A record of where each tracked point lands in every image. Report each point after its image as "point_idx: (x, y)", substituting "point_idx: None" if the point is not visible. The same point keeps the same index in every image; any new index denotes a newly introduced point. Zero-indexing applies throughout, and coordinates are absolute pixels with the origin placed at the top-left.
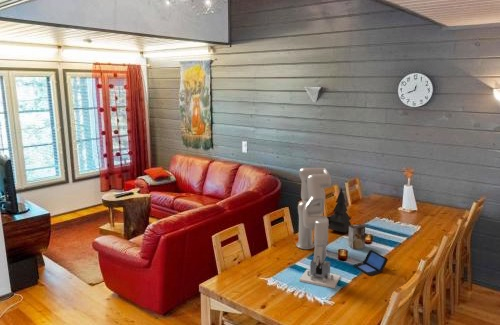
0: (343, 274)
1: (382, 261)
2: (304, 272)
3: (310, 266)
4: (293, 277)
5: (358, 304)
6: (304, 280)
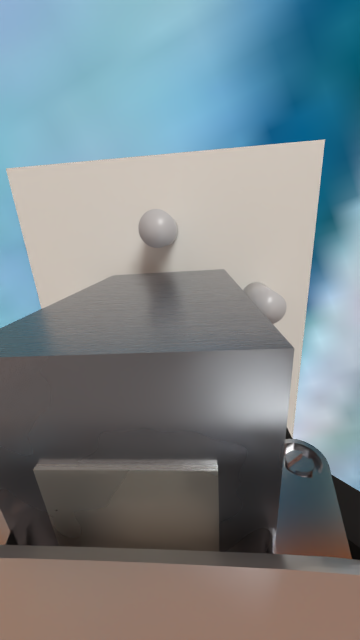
0: (347, 479)
1: None
2: (208, 152)
3: (44, 309)
4: (59, 54)
5: None
6: (25, 238)
